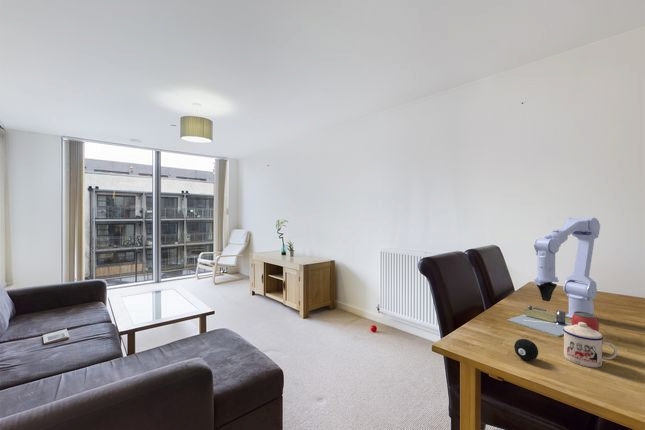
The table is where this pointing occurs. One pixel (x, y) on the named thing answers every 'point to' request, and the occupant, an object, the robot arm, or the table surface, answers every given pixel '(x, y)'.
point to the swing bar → (539, 314)
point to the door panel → (540, 324)
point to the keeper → (539, 309)
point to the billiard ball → (526, 349)
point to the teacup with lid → (585, 345)
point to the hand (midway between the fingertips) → (546, 300)
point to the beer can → (586, 320)
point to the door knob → (560, 318)
